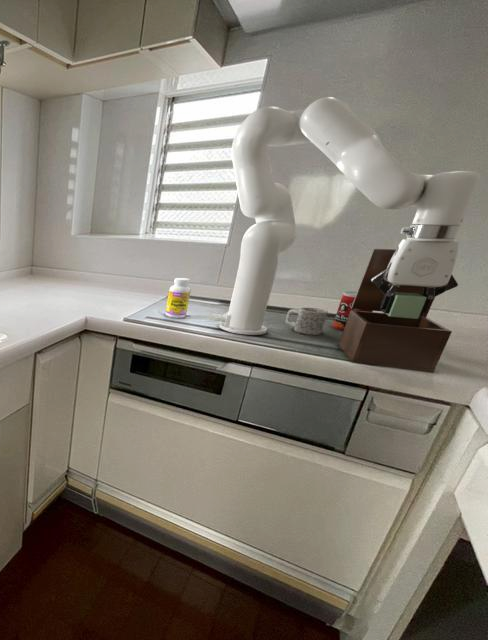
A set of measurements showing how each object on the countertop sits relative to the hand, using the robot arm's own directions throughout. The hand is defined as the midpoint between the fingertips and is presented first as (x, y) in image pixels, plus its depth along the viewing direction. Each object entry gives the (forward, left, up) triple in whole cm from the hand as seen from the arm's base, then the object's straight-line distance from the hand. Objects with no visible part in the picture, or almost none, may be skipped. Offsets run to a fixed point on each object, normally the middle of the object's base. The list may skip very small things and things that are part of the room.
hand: (400, 312), depth 96 cm
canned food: (-1, +29, -12) cm, 31 cm away
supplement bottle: (-50, +22, -12) cm, 56 cm away
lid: (0, +7, +6) cm, 9 cm away
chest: (0, +1, -12) cm, 12 cm away
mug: (-14, +21, -12) cm, 28 cm away
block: (0, 0, -1) cm, 1 cm away
